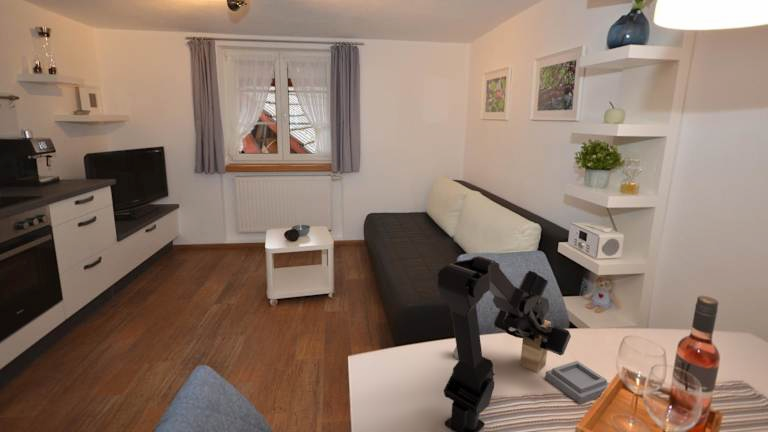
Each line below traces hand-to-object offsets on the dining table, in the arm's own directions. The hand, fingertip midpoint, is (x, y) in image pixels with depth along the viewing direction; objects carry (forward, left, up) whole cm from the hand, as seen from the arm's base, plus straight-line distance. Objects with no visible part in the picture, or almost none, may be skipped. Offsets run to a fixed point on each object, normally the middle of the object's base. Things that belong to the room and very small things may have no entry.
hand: (538, 341), depth 115 cm
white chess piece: (-12, +16, -7) cm, 21 cm away
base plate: (-1, -12, -7) cm, 14 cm away
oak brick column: (-1, 0, -7) cm, 7 cm away
